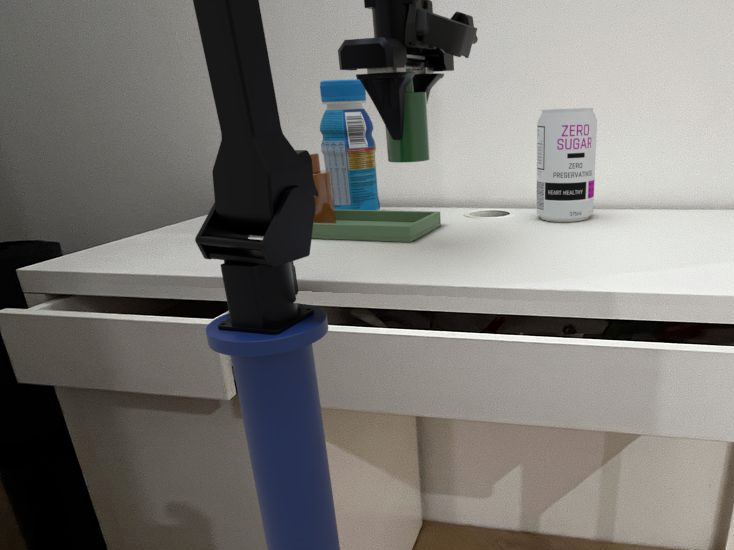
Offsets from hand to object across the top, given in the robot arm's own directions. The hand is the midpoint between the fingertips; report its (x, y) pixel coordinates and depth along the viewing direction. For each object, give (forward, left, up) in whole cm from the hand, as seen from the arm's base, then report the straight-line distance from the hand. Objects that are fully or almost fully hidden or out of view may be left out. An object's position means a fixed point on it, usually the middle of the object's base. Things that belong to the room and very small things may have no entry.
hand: (407, 138), depth 74 cm
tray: (+7, +17, -13) cm, 22 cm away
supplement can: (+21, -15, -13) cm, 29 cm away
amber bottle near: (+7, +18, -12) cm, 22 cm away
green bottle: (0, 0, -3) cm, 3 cm away
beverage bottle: (+20, +19, -13) cm, 30 cm away
